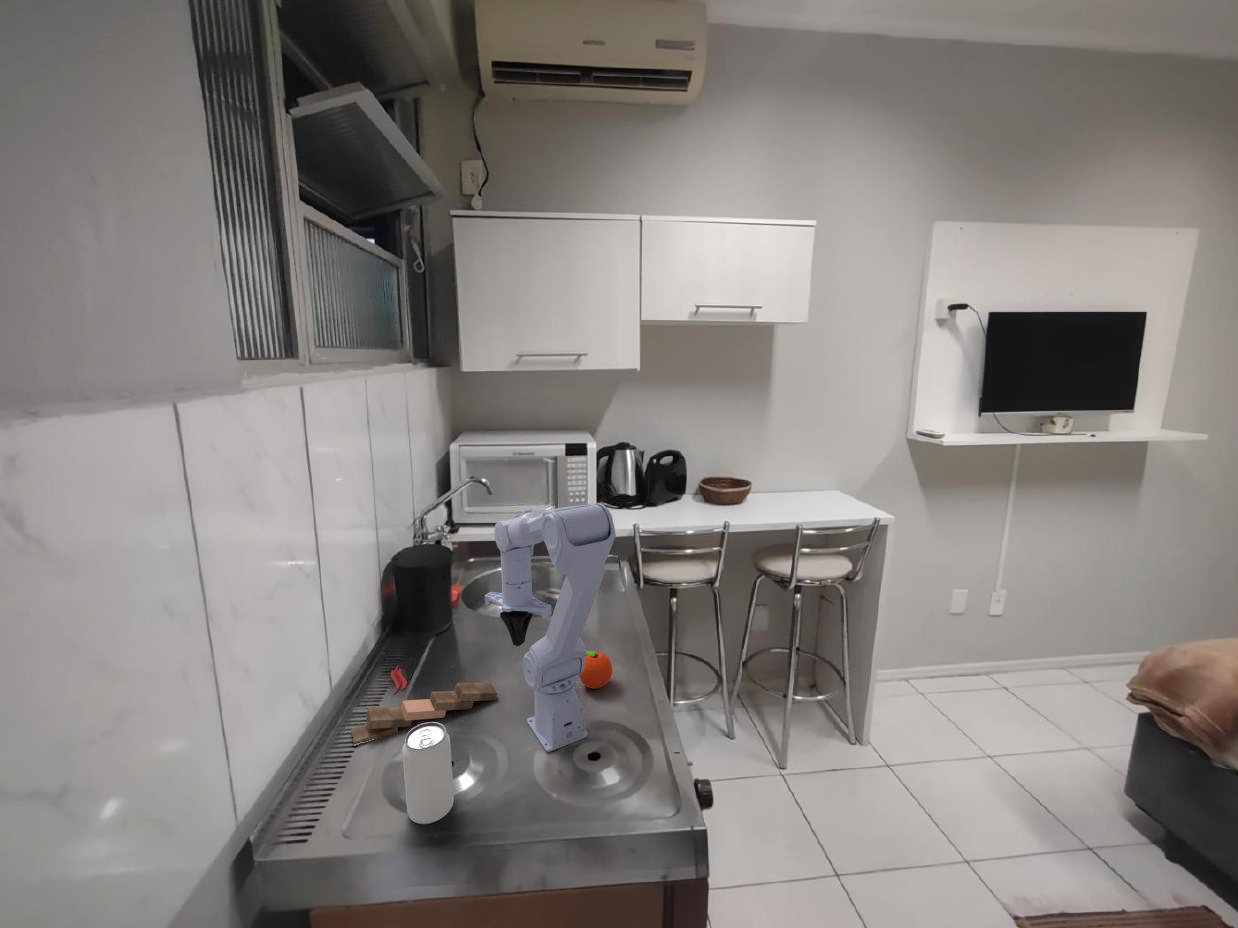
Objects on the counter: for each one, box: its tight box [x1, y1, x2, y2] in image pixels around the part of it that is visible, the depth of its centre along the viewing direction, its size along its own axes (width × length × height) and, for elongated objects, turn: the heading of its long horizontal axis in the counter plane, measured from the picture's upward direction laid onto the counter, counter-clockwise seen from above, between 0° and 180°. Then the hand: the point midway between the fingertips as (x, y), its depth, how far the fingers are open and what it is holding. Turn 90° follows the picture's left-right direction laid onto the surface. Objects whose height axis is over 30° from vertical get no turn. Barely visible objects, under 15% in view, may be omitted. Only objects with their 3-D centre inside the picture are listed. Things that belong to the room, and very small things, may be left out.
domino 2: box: [350, 722, 399, 745], centre depth 94 cm, size 4×2×7 cm
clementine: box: [578, 650, 613, 689], centre depth 108 cm, size 8×7×7 cm
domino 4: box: [429, 690, 475, 711], centre depth 100 cm, size 4×2×7 cm
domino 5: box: [453, 682, 498, 702], centre depth 103 cm, size 4×2×7 cm
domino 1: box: [365, 706, 413, 729], centre depth 95 cm, size 4×2×7 cm
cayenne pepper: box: [390, 665, 408, 696], centre depth 110 cm, size 12×5×2 cm, turn 6°
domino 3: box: [400, 698, 447, 721], centre depth 98 cm, size 4×2×7 cm
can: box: [402, 721, 455, 825], centre depth 77 cm, size 6×6×12 cm
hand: (518, 643), depth 106 cm, fingers closed
